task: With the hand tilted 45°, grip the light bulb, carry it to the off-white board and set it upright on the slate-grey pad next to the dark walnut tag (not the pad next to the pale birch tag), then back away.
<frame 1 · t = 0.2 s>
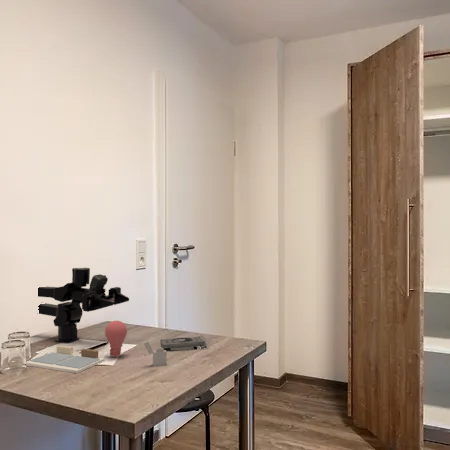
hand: (121, 301, 162), 17 cm above the table, tool horizontal, fingers open, 9 cm apart
lighter: (154, 365, 143), on the table
light bulb: (116, 357, 152), on the table
graphics card: (183, 347, 165), on the table
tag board: (65, 362, 145), on the table
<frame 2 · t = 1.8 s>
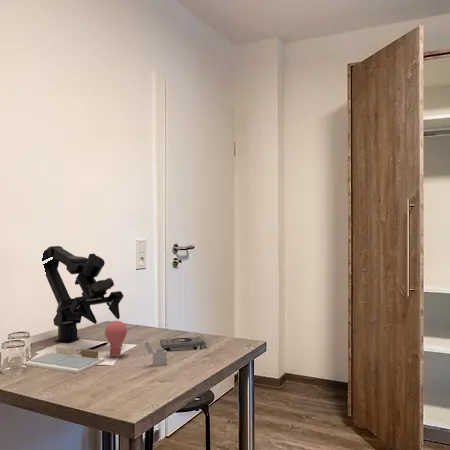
hand: (107, 320, 155), 11 cm above the table, tool tilted 45°, fingers open, 9 cm apart
nothing on the table moved.
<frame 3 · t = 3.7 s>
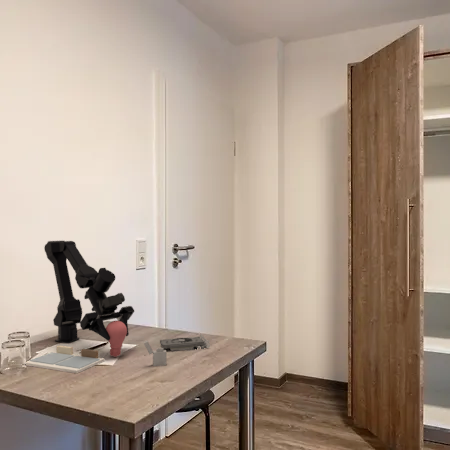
hand: (118, 337, 151), 7 cm above the table, tool tilted 45°, fingers closed on light bulb, 7 cm apart
light bulb: (116, 357, 152), on the table, touching gripper
everything else where it was.
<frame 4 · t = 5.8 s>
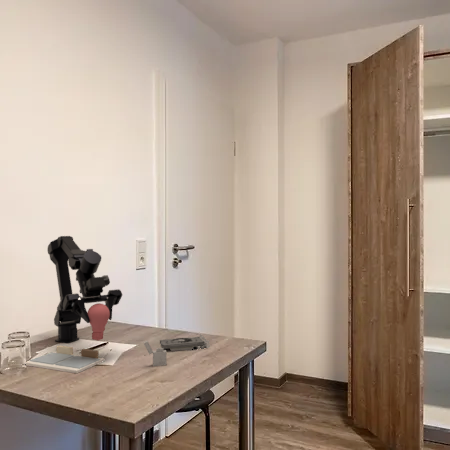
hand: (100, 320, 146), 13 cm above the table, tool tilted 45°, fingers closed on light bulb, 7 cm apart
light bulb: (98, 341, 147), point 6 cm above the table, touching gripper
everything else where it was.
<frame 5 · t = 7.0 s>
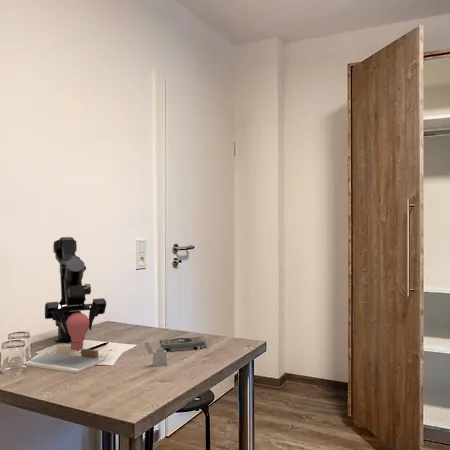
hand: (78, 330, 142), 11 cm above the table, tool tilted 45°, fingers closed on light bulb, 7 cm apart
light bulb: (77, 351, 143), point 4 cm above the table, touching gripper
everything else where it was.
when the fingers open (8 cm above the table, at t = 8.1 s): light bulb stays where it is, resting on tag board.
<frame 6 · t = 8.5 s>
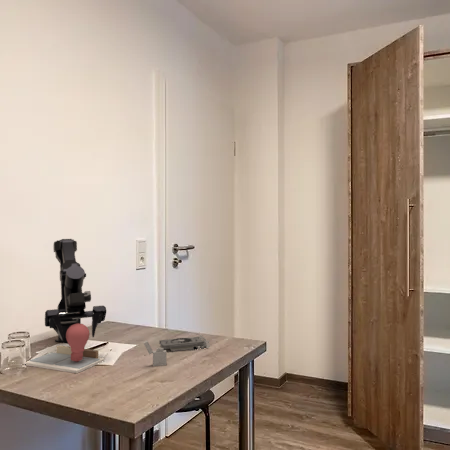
hand: (78, 338, 142), 9 cm above the table, tool tilted 45°, fingers open, 9 cm apart
light bulb: (77, 361, 143), point 1 cm above the table, touching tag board
everything else where it was.
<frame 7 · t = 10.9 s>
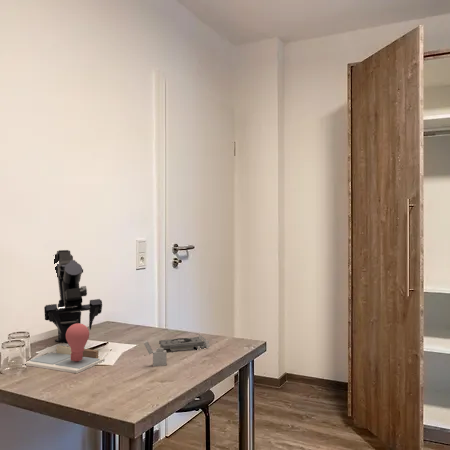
hand: (76, 330, 151), 9 cm above the table, tool tilted 45°, fingers open, 9 cm apart
nothing on the table moved.
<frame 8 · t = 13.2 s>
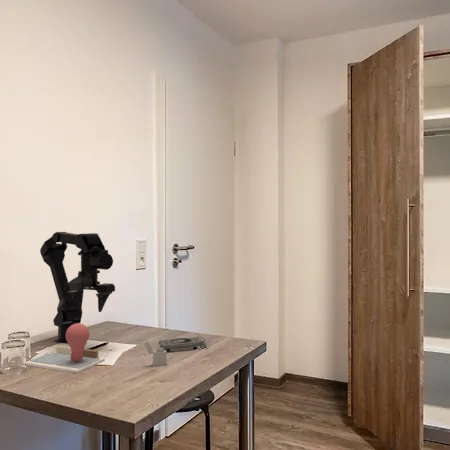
hand: (89, 311, 164), 13 cm above the table, tool pointing down, fingers open, 9 cm apart
nothing on the table moved.
at the end: light bulb inside the target area on the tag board (0.2 cm from its centre), point 0.9 cm above the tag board's base; light bulb tilted 0°; the gripper is holding nothing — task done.
